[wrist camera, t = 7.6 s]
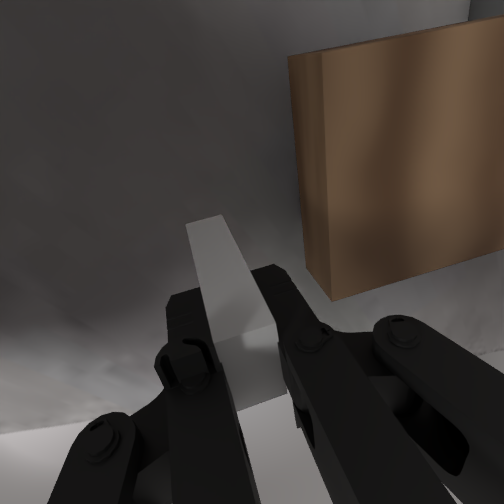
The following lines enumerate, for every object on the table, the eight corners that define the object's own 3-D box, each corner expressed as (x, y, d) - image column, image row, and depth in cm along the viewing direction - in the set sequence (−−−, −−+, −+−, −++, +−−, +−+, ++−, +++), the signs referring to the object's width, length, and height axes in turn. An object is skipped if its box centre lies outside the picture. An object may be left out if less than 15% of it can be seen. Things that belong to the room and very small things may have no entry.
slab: (306, 267, 23) (331, 301, 20) (287, 56, 16) (321, 53, 13) (541, 199, 26) (600, 219, 22) (610, -7, 19) (709, -24, 15)
